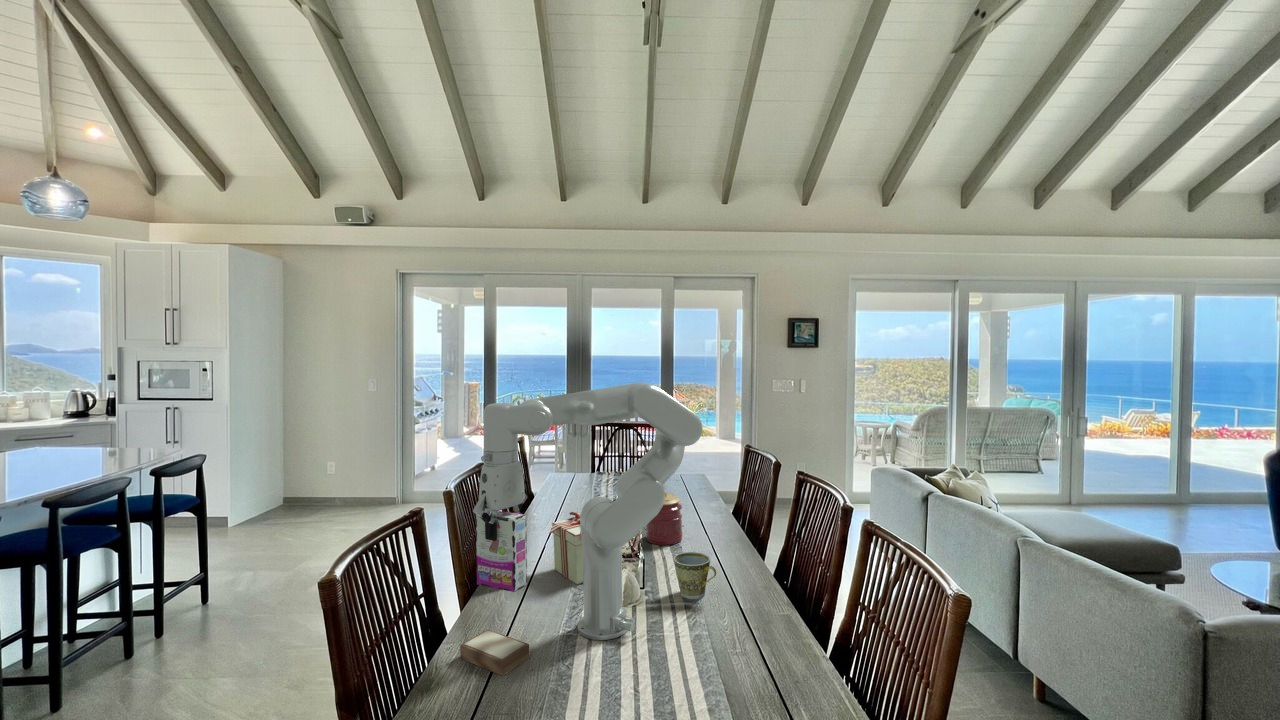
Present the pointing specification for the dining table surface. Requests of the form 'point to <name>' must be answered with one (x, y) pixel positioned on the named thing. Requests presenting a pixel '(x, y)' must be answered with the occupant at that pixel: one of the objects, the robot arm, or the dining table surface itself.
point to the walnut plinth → (494, 652)
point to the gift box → (568, 548)
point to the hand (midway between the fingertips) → (501, 535)
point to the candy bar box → (502, 553)
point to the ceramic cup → (692, 573)
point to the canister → (666, 523)
